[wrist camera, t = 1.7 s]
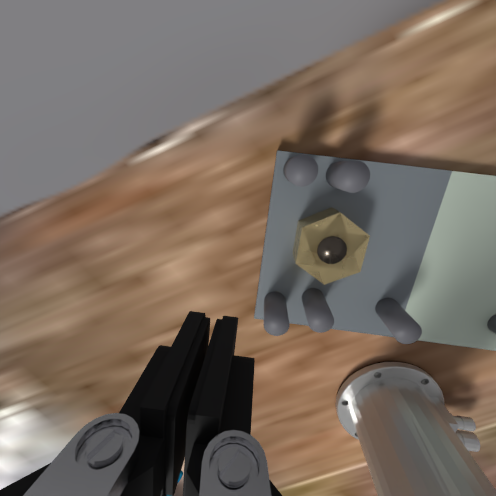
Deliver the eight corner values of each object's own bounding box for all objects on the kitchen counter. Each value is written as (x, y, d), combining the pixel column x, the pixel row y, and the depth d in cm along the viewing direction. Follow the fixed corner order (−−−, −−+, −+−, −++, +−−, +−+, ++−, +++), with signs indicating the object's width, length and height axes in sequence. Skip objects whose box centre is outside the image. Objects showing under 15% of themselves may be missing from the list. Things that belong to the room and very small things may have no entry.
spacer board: (641, 193, 24) (744, 201, 19) (551, 353, 30) (611, 393, 25) (276, 151, 25) (279, 147, 20) (254, 313, 31) (252, 344, 26)
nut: (362, 210, 25) (375, 216, 23) (346, 275, 28) (356, 289, 25) (301, 203, 26) (305, 208, 23) (289, 268, 28) (292, 281, 25)
